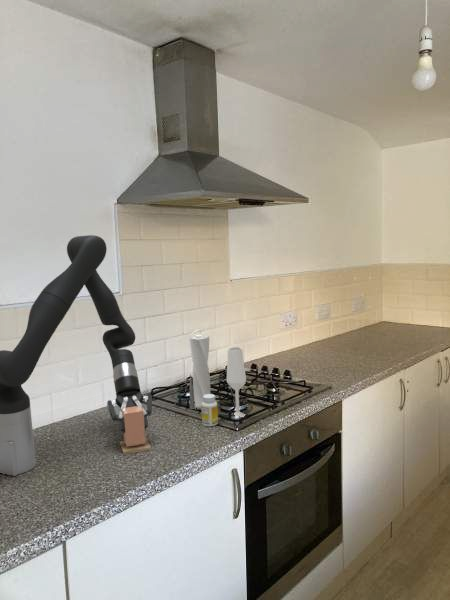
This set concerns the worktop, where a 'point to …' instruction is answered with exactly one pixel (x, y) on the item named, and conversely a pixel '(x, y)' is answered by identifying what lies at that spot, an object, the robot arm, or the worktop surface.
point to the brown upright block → (134, 425)
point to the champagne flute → (236, 373)
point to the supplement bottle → (209, 410)
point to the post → (135, 447)
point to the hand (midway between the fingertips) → (134, 429)
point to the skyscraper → (199, 369)
